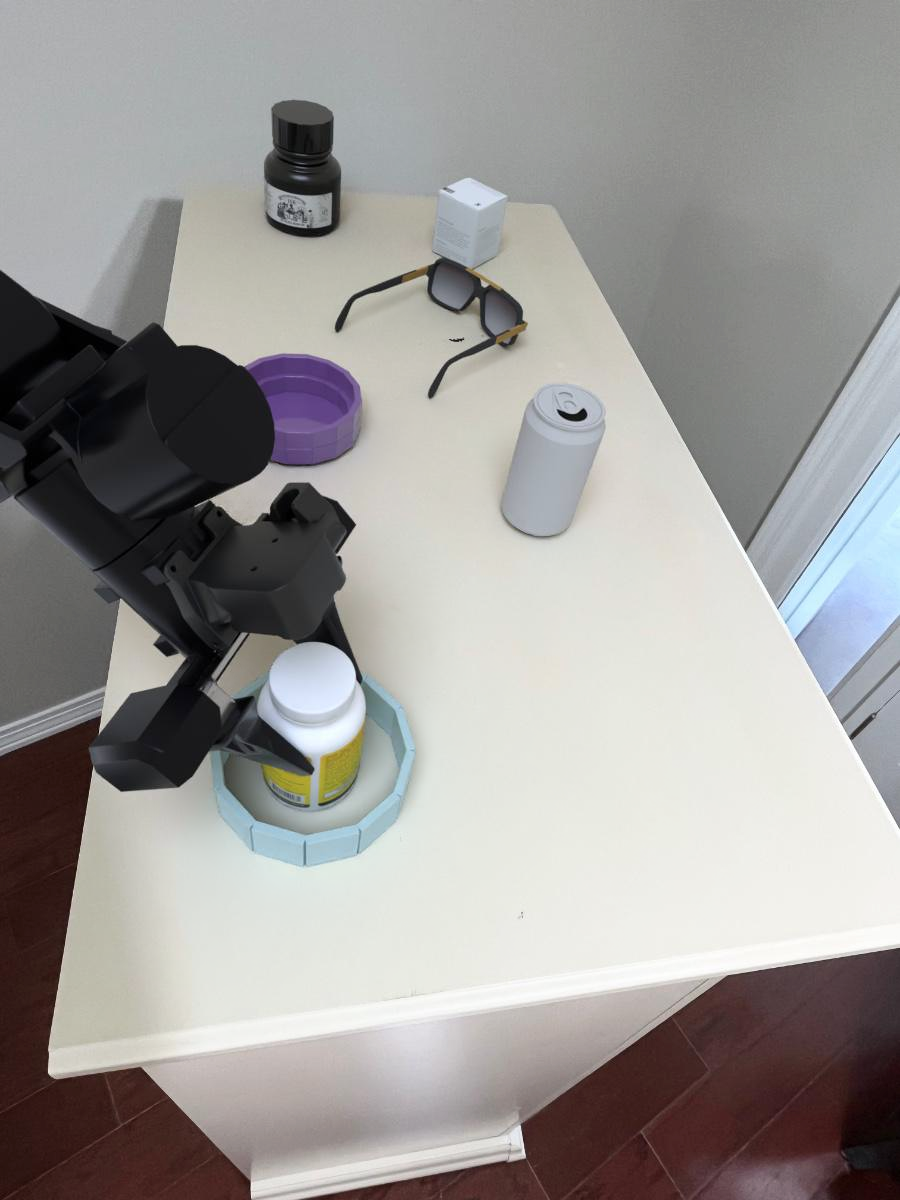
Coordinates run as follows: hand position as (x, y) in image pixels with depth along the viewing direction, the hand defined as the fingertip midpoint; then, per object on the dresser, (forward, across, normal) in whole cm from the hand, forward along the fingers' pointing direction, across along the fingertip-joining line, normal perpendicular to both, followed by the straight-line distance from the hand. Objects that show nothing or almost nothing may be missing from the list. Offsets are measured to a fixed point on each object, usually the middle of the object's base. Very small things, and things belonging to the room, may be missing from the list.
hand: (333, 726), depth 46 cm
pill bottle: (+4, 0, +6) cm, 7 cm away
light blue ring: (+4, 0, +6) cm, 7 cm away
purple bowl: (-8, +30, +17) cm, 36 cm away
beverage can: (+9, +30, +1) cm, 31 cm away
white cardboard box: (-6, +70, +16) cm, 72 cm away
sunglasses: (-4, +50, +13) cm, 52 cm away
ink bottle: (-20, +66, +30) cm, 75 cm away
